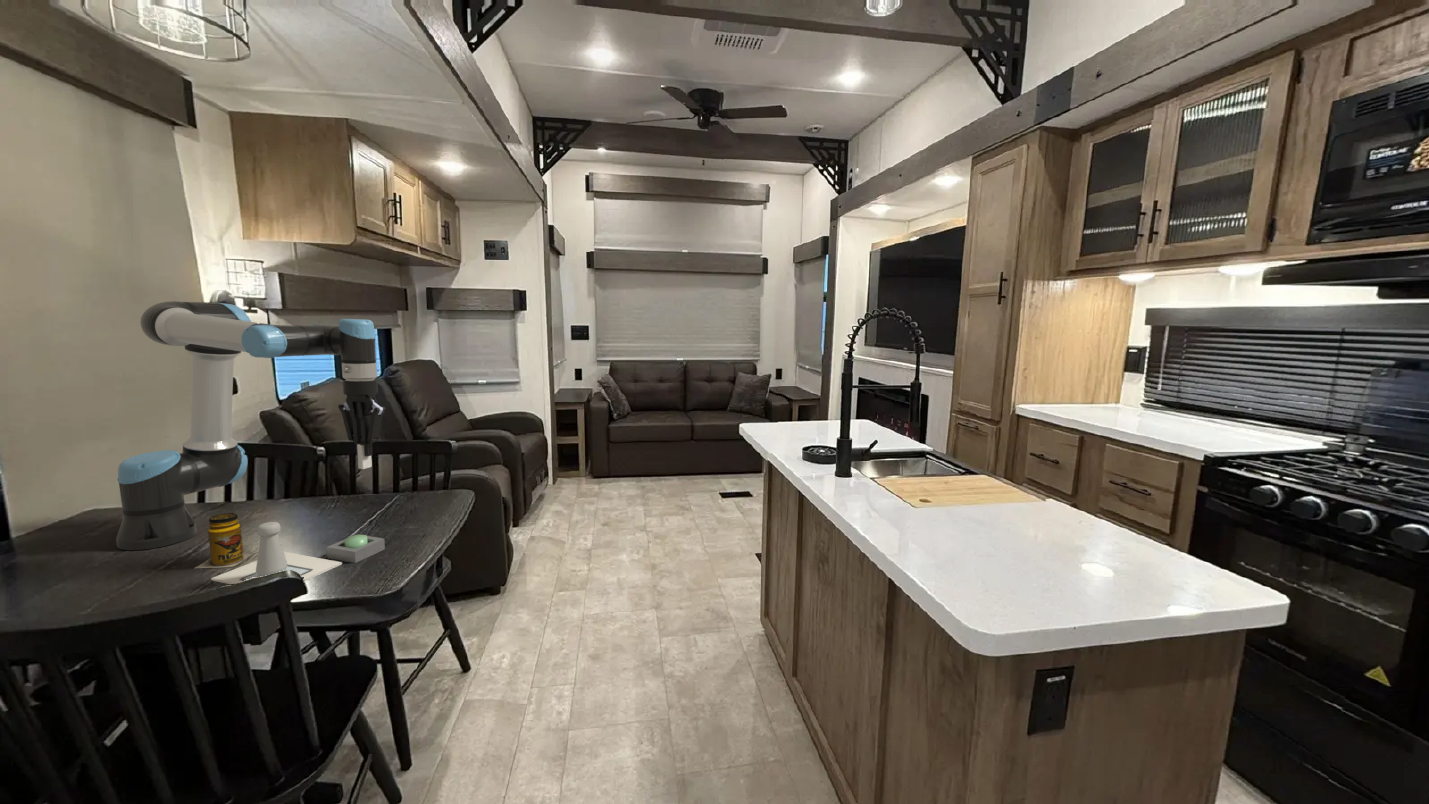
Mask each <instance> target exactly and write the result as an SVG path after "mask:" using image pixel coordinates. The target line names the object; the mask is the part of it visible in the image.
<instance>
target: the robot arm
mask: <svg viewBox="0 0 1429 804" xmlns="http://www.w3.org/2000/svg"><path fill="white" fill-rule="evenodd" d="M374 325H375V324H374V322H373V321H372V320H370V319H361V318H360V319H359V318H341V319H339V322H338V325H337V326H335V325H324V324H310V325H309V324H308V325H307V324H306V325H304V324H303V325H295V324H294V325H288V324H287V325H286V324H285V325H284V324H283V325H282V324H281V325H280V324H272V323H271V324H270V323H264V322H263V323H262V322H257V321H252V319H250V317H249V315H248V314H247V313H246V311H245V310H243V309H242V308H241V307H239V306H237V305H235V304H231V303H223V302H222V303H221V302H203V301H197V302H196V301H176V300H175V301H163V302H159V303H156V304H153V305H151V306H150V307H148V308H147V309H145V311H144V312H143V313H142V315H141V317H140V327H141V328H140V329H141V330H142V332H143V334H144V335H145V336H146V337H147V338H148V339H151V340H152V341H153V342H155V343H158V344H161V345H165V346H171V347H172V346H174V347H184V351H186V352H187V353H188V354H189V355H190V356H191V361H192V362H191V366H192V367H191V394H190V396H191V398H190V402H191V403H190V437H189V438H188V439H187V440H185V441H184V442H183V443H182V452H181V453H180V452H178V451H177V450H173V449H167V450H165V449H164V450H163V449H162V450H157V451H150V452H145V453H140V454H137V455H134V456H130V457H129V458H126V459H124V460H123V461H121V463H120V464H119V465H118V467H117V468H118V469H117V482H118V484H119V485H118V486H119V493H120V494H119V495H120V501H121V508H122V520H121V523H120V526H119V529H118V532H117V536H116V538H115V539H116V540H115V541H116V548H118V549H120V550H124V551H140V550H142V551H143V550H149V549H150V550H151V549H156V548H162V547H166V546H167V547H168V546H170V545H175V544H178V543H181V542H184V541H186V540H189V539H191V538H193V537H194V536H195V535H197V525H196V523H195V521H194V519H193V518H192V516H191V514H190V513H189V511H188V510H187V508H186V505H185V495H186V496H187V495H190V494H194V493H199V492H202V491H207V490H211V489H215V488H220V487H224V486H227V485H228V484H232V483H235V482H237V481H239V480H240V479H241V478H242V477H243V476H244V475H245V473H246V471H247V468H248V464H249V463H248V462H249V461H248V455H247V454H245V453H246V451H245V449H244V448H243V447H242V446H241V445H239V444H238V440H236V439H234V438H232V417H233V416H232V415H233V414H232V413H233V387H234V386H233V385H234V364H235V363H234V362H235V361H234V360H235V358H237V357H238V356H239V355H242V354H241V353H242V352H244V353H248V354H249V355H250V356H251V357H253V358H262V359H263V358H264V359H273V358H280V357H281V358H282V357H301V356H303V357H304V356H320V355H321V356H323V355H324V356H325V355H329V356H331V355H332V356H340V357H341V358H340V359H341V370H342V371H341V373H342V378H343V379H345V380H343V381H342V390H343V391H342V392H343V395H344V396H346V397H345V398H346V399H345V402H344V403H341V404H338V406H337V407H338V409H339V411H340V412H341V416H342V419H343V420H342V421H343V423H344V428H345V431H346V435H347V439H348V441H349V442H353V443H354V444H355V454H356V456H357V465H358V466H357V467H358V469H359V470H365V469H369V468H372V465H373V464H372V463H373V462H372V456H373V444H374V443H376V442H379V441H380V435H381V429H382V423H383V421H382V420H383V415H384V413H385V412H386V407H385V406H381V405H379V404H378V400H377V399H376V395H377V394H378V392H379V387H378V386H379V385H378V381H377V379H376V378H377V377H378V370H377V356H376V355H377V353H376V352H377V351H376V337H377V336H376V331H375V326H374Z"/></svg>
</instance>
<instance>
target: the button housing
mask: <svg viewBox="0 0 1429 804" xmlns="http://www.w3.org/2000/svg"><path fill="white" fill-rule="evenodd" d="M356 535H360V534H356ZM366 536H367V542H368V543H367V544H365V545H363V546H360V547H358V548H356V549H354V548H348V547H345V541H344V540H345V539H343V540H339V541H338V542H336V543H332V544H331V545H328V546H326V556H327V557H326V558H327V559H329V560H330V559H331V560H334V561H340V562H346V563H353V564H357V563H359V562H361V561H363V560H365V559H367V558H369V557H371V556H374V555H376V554H378V553H380V552H382V551H385V550H386V545H385V544H386V543H385V538H382V537H377V536H369V535H366Z"/></svg>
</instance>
